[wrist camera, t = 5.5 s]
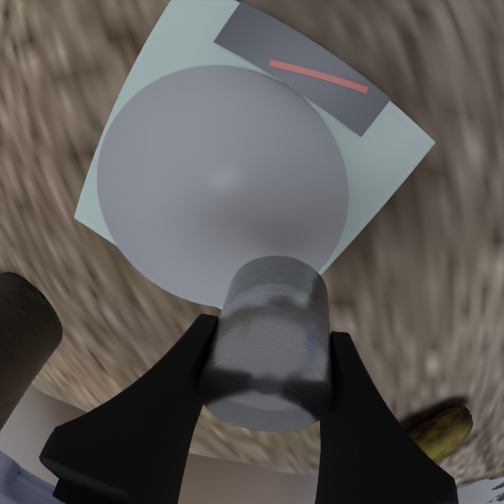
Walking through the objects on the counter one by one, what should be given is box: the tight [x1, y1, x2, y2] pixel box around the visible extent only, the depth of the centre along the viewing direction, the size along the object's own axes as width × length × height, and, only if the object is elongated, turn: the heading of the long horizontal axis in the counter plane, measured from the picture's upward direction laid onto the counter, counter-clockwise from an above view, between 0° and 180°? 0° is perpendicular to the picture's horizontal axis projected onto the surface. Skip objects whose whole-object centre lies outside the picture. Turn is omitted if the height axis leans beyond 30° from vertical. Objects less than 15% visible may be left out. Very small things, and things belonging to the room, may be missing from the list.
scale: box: [74, 0, 435, 309], centre depth 17 cm, size 16×15×2 cm
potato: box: [407, 406, 473, 466], centre depth 25 cm, size 8×13×8 cm, turn 124°
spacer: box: [198, 255, 333, 432], centre depth 11 cm, size 4×4×5 cm
